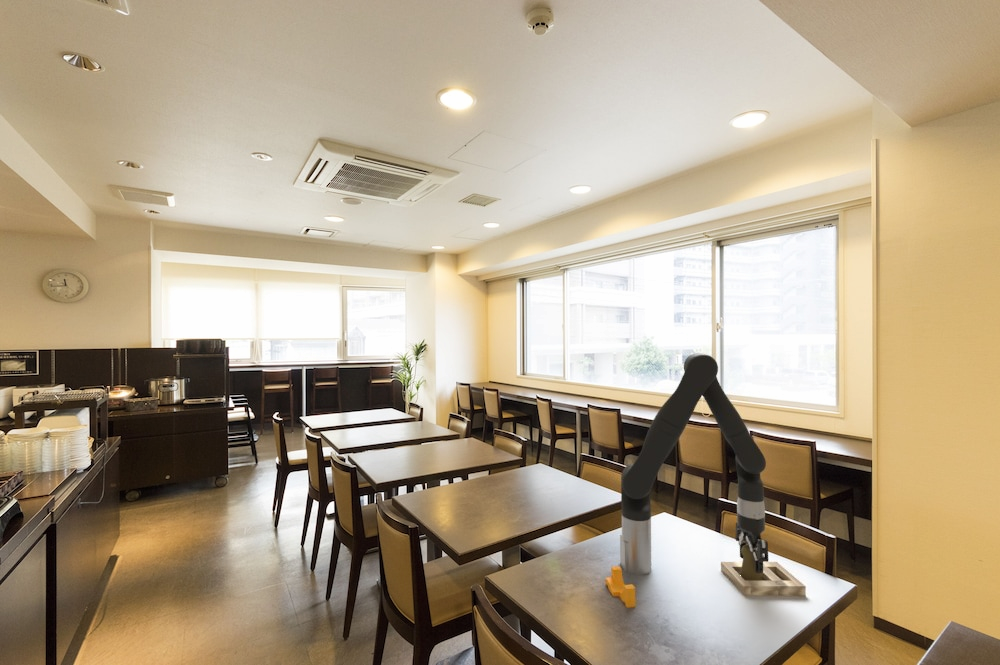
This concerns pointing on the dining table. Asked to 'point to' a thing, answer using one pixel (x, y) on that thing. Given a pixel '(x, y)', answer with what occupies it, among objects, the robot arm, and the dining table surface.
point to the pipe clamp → (620, 587)
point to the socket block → (765, 580)
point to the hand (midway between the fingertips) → (751, 565)
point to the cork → (749, 565)
